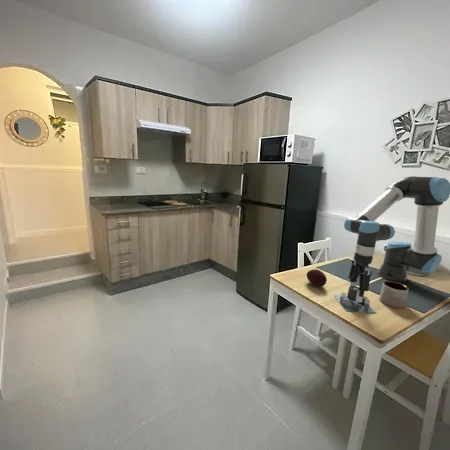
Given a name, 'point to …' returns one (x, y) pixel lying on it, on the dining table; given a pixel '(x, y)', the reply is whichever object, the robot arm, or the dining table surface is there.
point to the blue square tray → (354, 304)
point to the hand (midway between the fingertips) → (354, 297)
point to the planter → (394, 294)
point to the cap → (352, 293)
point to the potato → (316, 277)
